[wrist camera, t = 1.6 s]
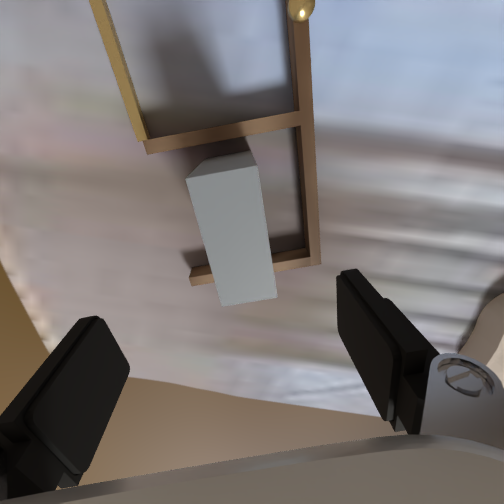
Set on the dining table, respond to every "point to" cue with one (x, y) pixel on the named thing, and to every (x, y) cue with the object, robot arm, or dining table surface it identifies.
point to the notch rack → (243, 127)
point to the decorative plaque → (488, 338)
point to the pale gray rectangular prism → (233, 227)
